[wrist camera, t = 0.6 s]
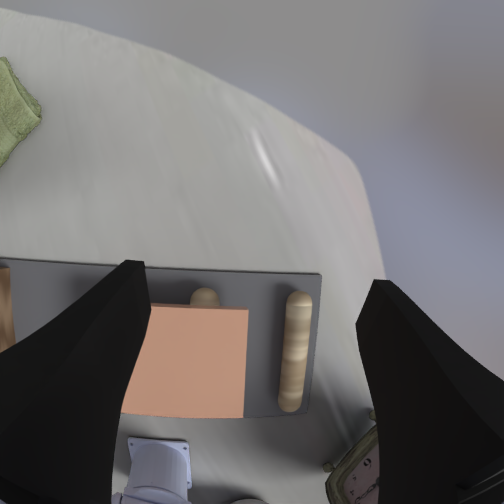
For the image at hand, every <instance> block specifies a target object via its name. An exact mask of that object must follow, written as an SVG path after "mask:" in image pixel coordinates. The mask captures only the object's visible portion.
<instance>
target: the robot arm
mask: <svg viewBox="0 0 504 504" xmlns="http://www.w3.org/2000/svg"><path fill="white" fill-rule="evenodd" d="M151 310H152V309H151V303H150V297H149V291H148V285H147V279H146V272H145V265H144V261H135V260H125V261H124V262H122V263H121V264H120V265H118V266H117V267H116V268H115V269H114V270H112V271H111V272H110V273H109V274H108V275H106V276H105V277H104V278H103V279H102V280H100V281H99V282H98V283H97V284H96V285H95V286H93V287H92V288H91V289H90V290H89V291H87V292H86V293H85V294H84V295H83V296H81V297H80V298H79V299H78V300H76V301H75V302H74V303H73V304H71V305H70V306H69V307H68V308H66V309H65V310H64V311H62V312H61V313H60V314H59V315H57V316H56V317H55V318H54V319H52V320H51V321H49V322H48V323H47V324H45V325H44V326H43V327H41V328H40V329H38V330H37V331H35V332H34V333H32V334H31V335H29V336H28V337H26V338H25V339H23V340H21V341H19V342H18V343H16V344H14V345H13V346H11V347H9V348H8V349H6V350H4V351H2V352H1V353H0V504H191V502H189V501H187V489H190V488H192V481H191V469H190V456H189V444H188V442H185V441H167V440H154V439H143V438H133V437H129V438H128V440H127V441H128V447H129V452H130V457H131V461H132V466H131V470H130V474H129V479H128V483H127V487H125V489H124V494H123V496H122V493H119V492H117V493H116V494H114V495H112V472H113V461H114V451H115V444H116V437H117V430H118V424H119V419H120V414H121V409H122V404H123V400H124V397H125V393H126V390H127V387H128V384H129V382H130V379H131V376H132V373H133V370H134V367H135V364H136V362H137V359H138V356H139V353H140V350H141V348H142V345H143V342H144V339H145V336H146V332H147V328H148V324H149V319H150V315H151ZM355 325H356V332H357V340H358V346H359V352H360V356H361V360H362V363H363V367H364V371H365V375H366V378H367V382H368V386H369V390H370V394H371V398H372V402H373V406H374V411H375V416H376V423H377V433H378V445H379V494H378V504H504V381H503V380H502V379H500V378H499V377H498V376H496V375H495V374H493V373H492V372H490V371H489V370H488V369H486V368H485V367H484V366H482V365H481V364H480V363H479V362H477V361H476V360H475V359H474V358H473V357H471V356H470V355H469V354H468V353H466V352H465V351H464V350H463V349H462V348H461V347H460V346H459V345H457V344H456V343H455V342H454V341H453V340H452V339H451V338H450V337H449V336H448V335H447V334H446V333H444V331H443V330H441V329H440V328H439V327H438V326H437V325H436V324H435V323H434V322H433V321H432V320H431V319H430V318H429V317H428V316H427V315H426V314H425V313H424V312H423V311H422V310H421V309H420V308H419V307H418V306H417V305H416V304H415V303H414V302H413V301H412V300H411V299H410V298H409V297H408V296H407V295H406V294H405V293H404V292H403V291H402V290H401V289H400V288H399V287H397V286H396V285H395V284H394V283H393V282H391V281H390V280H377V279H374V280H373V283H372V285H371V288H370V290H369V293H368V295H367V298H366V300H365V303H364V305H363V308H362V310H361V312H360V315H359V317H358V319H357V322H356V324H355ZM131 443H133V444H131ZM183 447H186V448H183ZM187 481H188V482H187Z"/></svg>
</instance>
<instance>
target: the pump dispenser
mask: <svg viewBox="0 0 504 504" xmlns="http://www.w3.org/2000/svg"><path fill="white" fill-rule="evenodd" d="M230 504H268V503H267V502H264V501H261V500H257V499H243V500H238V501H235V502H233V503H230Z"/></svg>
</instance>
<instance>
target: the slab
mask: <svg viewBox="0 0 504 504" xmlns="http://www.w3.org/2000/svg"><path fill="white" fill-rule="evenodd" d="M151 309H152V310H151V315H150V319H149V324H148V328H147V332H146V336H145V339H144V342H143V345H142V348H141V350H140V353H139V356H138V359H137V362H136V364H135V367H134V370H133V373H132V376H131V379H130V382H129V384H128V387H127V390H126V393H125V397H124V400H123V404H122V409H121V413H128V414H138V415H148V416H162V417H179V418H243V409H244V390H245V370H246V351H247V332H248V313H249V310H248V308H247V307H245V306H207V305H182V304H162V303H151Z"/></svg>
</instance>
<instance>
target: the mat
mask: <svg viewBox="0 0 504 504" xmlns="http://www.w3.org/2000/svg"><path fill="white" fill-rule="evenodd" d="M0 267H6V268H10V285H11V301H12V313H13V323H14V331H15V339H16V343H18V342H19V341H21V340H23V339H25V338H26V337H28V336H29V335H31V334H32V333H34V332H35V331H37V330H38V329H40V328H41V327H43V326H44V325H45V324H47V323H48V322H49V321H51V320H52V319H54V318H55V317H56V316H57V315H59V314H60V313H61V312H62V311H64V310H65V309H66V308H68V307H69V306H70V305H71V304H73V303H74V302H75V301H76V300H78V299H79V298H80V297H81V296H83V295H84V294H85V293H86V292H87V291H89V290H90V289H91V288H92V287H93V286H95V285H96V284H97V283H98V282H99V281H100V280H102V279H103V278H104V277H105V276H106V275H108V274H109V273H110V272H111V271H112V270H114V269H115V268H116V266H99V265H83V264H68V263H54V262H40V261H26V260H14V259H1V258H0ZM145 272H146V279H147V285H148V291H149V297H150V303H162V304H182V305H190V299H191V296H192V294H193V293H194V292H195V291H196V290H197V289H200V288H210V289H212V290H214V291H215V292H216V294H217V295H218V297H219V301H220V306H245V307H247V308H248V310H249V313H248V332H247V351H246V370H245V390H244V409H243V418H253V417H270V416H283V415H293V414H303V413H307V408H308V401H309V394H310V387H311V380H312V372H313V364H314V356H315V347H316V338H317V328H318V318H319V307H320V295H321V282H322V275H310V274H274V273H244V272H218V271H194V270H173V269H153V268H145ZM295 291H304V292H306V293H307V294H309V296H310V297H311V299H312V313H311V324H310V334H309V344H308V354H307V363H306V371H305V379H304V387H303V395H302V402H301V405H300V407H299V408H298V409H297V410H296V411H293V412H285V411H283V410H282V409H281V408H280V407H279V405H278V395H279V385H280V374H281V363H282V352H283V340H284V327H285V314H286V302H287V298H288V297H289V295H290V294H291V293H293V292H295ZM127 414H128V413H127ZM136 415H138V414H136ZM147 416H148V415H147ZM159 417H162V416H159ZM176 418H179V417H176Z"/></svg>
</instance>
